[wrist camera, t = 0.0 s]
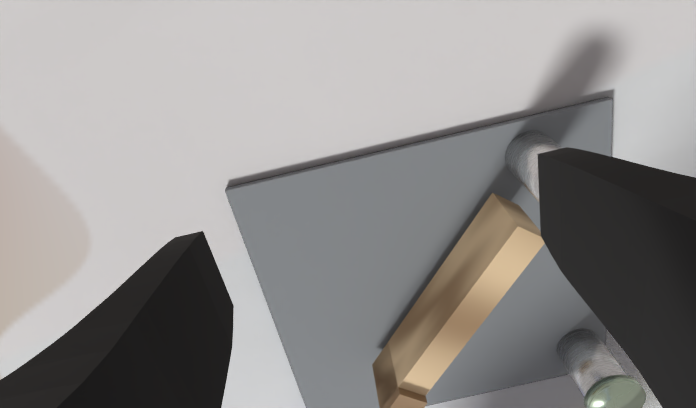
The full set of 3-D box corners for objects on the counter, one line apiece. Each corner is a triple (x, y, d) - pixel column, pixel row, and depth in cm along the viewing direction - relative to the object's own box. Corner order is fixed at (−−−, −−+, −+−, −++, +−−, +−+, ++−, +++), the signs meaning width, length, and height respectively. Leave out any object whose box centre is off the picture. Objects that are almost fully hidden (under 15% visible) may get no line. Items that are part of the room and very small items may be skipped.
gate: (396, 372, 26) (408, 427, 23) (372, 364, 25) (381, 418, 22) (519, 205, 22) (552, 245, 19) (492, 192, 21) (521, 231, 18)
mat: (602, 362, 28) (605, 366, 28) (314, 426, 28) (314, 431, 28) (608, 97, 21) (612, 99, 21) (225, 187, 21) (225, 190, 21)
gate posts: (602, 348, 27) (649, 411, 24) (555, 365, 28) (594, 431, 24) (544, 119, 21) (596, 157, 17) (484, 145, 21) (522, 188, 18)
